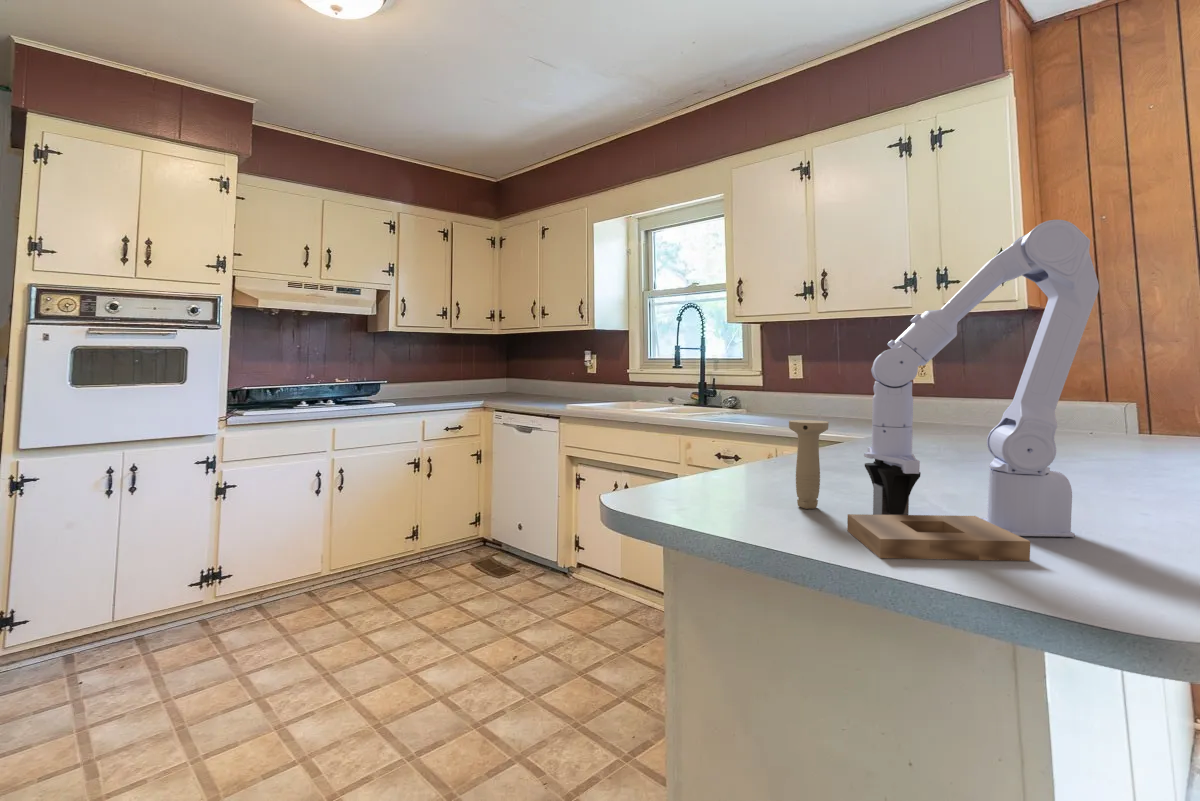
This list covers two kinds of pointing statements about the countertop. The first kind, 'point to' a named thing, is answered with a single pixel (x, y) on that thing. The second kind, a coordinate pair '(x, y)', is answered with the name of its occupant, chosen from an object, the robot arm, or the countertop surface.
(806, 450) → the handle
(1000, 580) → the countertop surface
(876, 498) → the grey stone block
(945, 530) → the well board
